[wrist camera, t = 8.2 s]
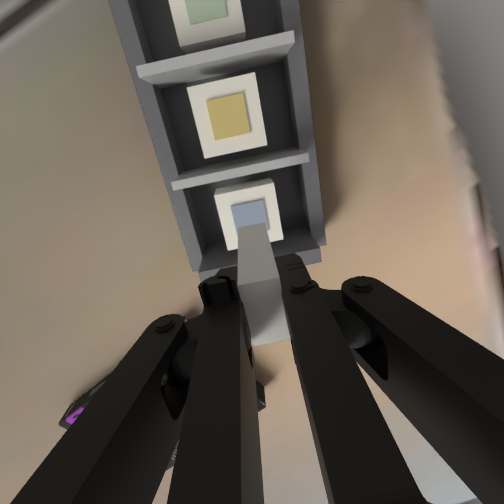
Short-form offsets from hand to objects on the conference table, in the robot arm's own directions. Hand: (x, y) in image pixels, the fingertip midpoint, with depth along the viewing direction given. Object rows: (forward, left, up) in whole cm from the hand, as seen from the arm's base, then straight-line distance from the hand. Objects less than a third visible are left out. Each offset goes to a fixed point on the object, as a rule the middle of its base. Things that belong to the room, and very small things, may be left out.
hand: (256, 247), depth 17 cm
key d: (0, +7, -9) cm, 11 cm away
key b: (0, 0, -9) cm, 9 cm away
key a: (0, +14, -10) cm, 17 cm away
